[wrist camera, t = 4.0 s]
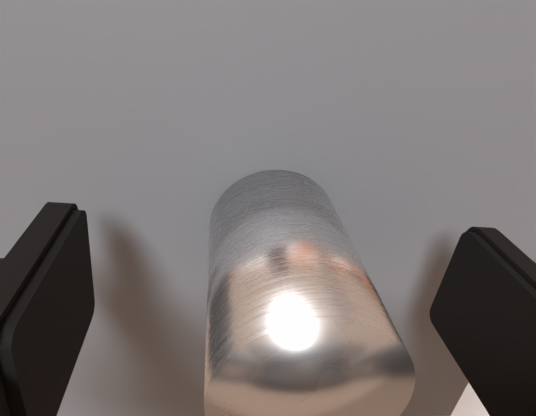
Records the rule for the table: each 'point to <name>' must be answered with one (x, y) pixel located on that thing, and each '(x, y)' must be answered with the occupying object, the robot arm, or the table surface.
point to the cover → (268, 189)
